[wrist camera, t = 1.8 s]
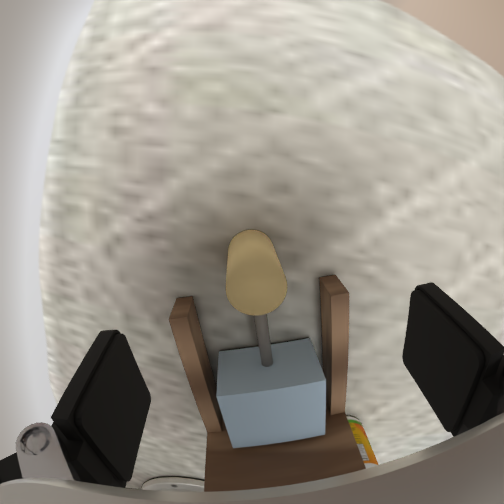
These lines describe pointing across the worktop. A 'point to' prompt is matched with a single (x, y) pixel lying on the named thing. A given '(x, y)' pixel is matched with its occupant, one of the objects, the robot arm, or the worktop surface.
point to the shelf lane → (285, 453)
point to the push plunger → (266, 358)
